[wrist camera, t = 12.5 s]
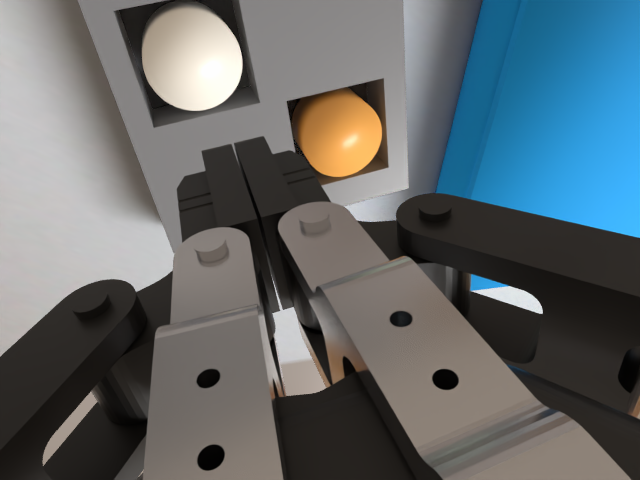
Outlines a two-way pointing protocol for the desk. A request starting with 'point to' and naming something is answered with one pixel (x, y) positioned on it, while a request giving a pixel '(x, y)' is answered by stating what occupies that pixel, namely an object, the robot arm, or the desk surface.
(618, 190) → the book
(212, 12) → the button ivory
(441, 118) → the desk surface
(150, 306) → the robot arm
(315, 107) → the button orange
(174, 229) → the panel
